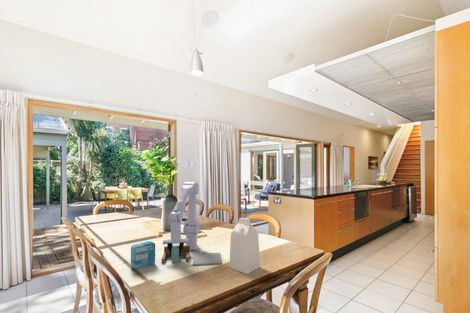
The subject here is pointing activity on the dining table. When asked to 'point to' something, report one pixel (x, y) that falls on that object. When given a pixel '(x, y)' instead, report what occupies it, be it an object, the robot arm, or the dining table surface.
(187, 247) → the bay
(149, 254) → the data package
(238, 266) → the milk
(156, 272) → the dining table surface
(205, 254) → the board
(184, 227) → the robot arm
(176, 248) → the block
